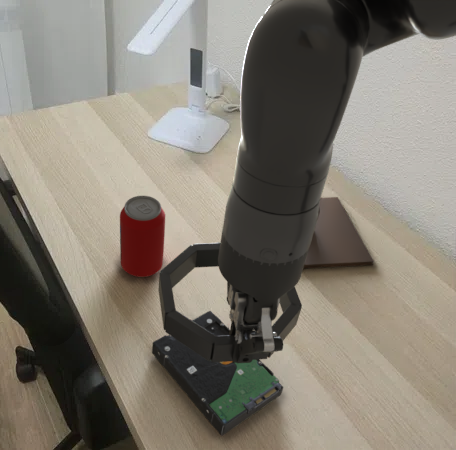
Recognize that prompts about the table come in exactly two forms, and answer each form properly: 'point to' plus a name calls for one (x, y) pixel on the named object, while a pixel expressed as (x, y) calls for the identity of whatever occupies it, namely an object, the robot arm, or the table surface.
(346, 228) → the stand
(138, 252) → the beverage can
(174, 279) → the ring
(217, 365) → the disk drive
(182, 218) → the table surface
